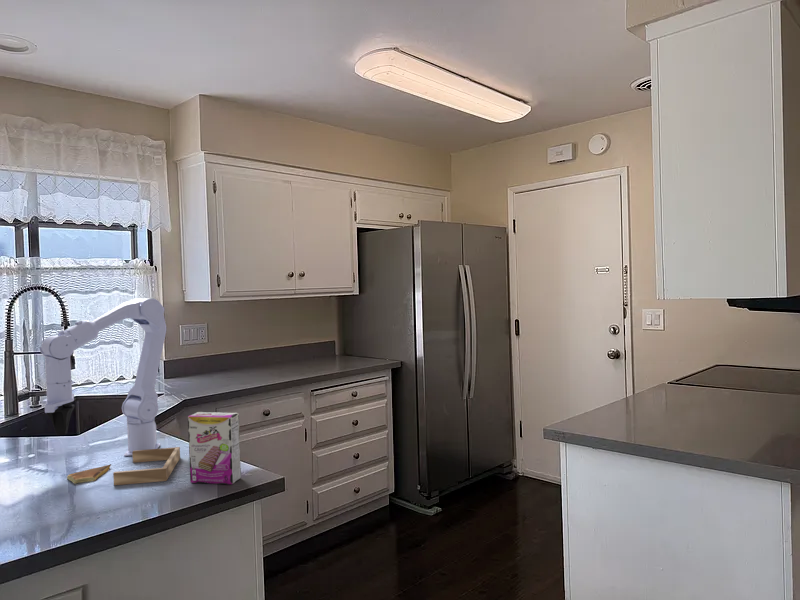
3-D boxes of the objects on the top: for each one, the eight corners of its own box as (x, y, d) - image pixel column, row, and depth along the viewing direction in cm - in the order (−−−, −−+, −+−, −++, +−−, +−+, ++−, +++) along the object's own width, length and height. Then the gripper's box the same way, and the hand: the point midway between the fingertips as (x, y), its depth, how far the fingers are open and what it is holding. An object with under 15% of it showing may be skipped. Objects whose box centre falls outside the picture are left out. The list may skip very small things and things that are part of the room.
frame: (133, 461, 161) (133, 450, 161) (180, 457, 163) (179, 446, 163) (113, 485, 142) (113, 473, 142) (166, 480, 145) (166, 468, 145)
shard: (111, 469, 156) (111, 462, 156) (122, 475, 151) (122, 468, 151) (66, 480, 149) (66, 473, 149) (76, 487, 143) (76, 480, 143)
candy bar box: (189, 484, 142) (186, 416, 141) (199, 476, 147) (196, 411, 146) (233, 485, 140) (230, 416, 139) (242, 478, 145) (239, 411, 144)
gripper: (52, 378, 159) (55, 428, 160) (29, 388, 145) (32, 443, 145) (81, 376, 160) (83, 426, 161) (61, 386, 146) (64, 440, 147)
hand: (61, 434), depth 153 cm, fingers closed
